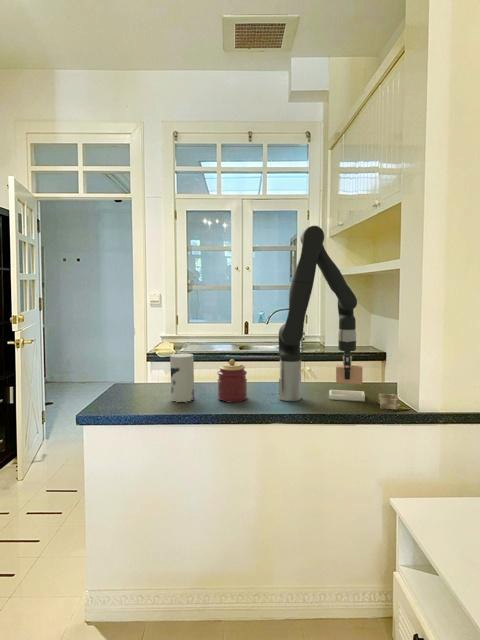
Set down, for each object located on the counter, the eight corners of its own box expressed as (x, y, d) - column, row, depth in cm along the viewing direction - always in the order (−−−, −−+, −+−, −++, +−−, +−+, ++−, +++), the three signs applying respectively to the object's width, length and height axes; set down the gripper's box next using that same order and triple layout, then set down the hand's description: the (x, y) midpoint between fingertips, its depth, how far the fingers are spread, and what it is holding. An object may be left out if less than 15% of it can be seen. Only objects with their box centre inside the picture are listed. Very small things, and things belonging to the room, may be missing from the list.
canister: (219, 394, 196) (218, 356, 195) (247, 394, 196) (247, 356, 194) (216, 403, 183) (215, 362, 182) (247, 402, 183) (246, 362, 181)
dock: (380, 408, 173) (380, 398, 172) (378, 403, 180) (378, 393, 180) (398, 409, 171) (398, 399, 171) (396, 403, 179) (396, 394, 178)
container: (166, 400, 188) (165, 355, 187) (184, 395, 196) (183, 352, 194) (181, 404, 182) (180, 357, 180) (198, 399, 189) (198, 354, 187)
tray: (328, 399, 187) (329, 394, 186) (329, 394, 195) (329, 389, 195) (364, 401, 183) (364, 396, 183) (363, 395, 192) (363, 391, 192)
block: (336, 383, 188) (336, 367, 187) (336, 380, 192) (336, 365, 192) (362, 384, 185) (362, 368, 184) (362, 381, 189) (362, 365, 189)
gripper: (338, 337, 195) (338, 374, 196) (338, 341, 181) (338, 381, 182) (355, 337, 193) (355, 374, 195) (356, 341, 179) (356, 381, 181)
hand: (347, 377), depth 189 cm, fingers closed on block, 5 cm apart
